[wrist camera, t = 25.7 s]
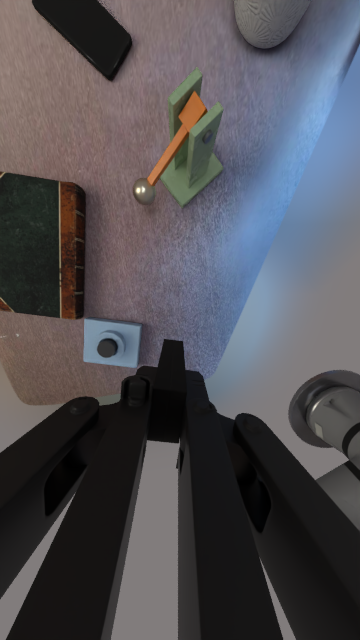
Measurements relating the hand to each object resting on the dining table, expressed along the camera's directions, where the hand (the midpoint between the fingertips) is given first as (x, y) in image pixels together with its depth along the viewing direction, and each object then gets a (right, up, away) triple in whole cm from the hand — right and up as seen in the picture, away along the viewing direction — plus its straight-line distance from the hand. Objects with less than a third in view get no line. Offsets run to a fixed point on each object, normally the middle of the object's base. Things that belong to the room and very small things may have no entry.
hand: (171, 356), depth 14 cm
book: (-28, +17, +23) cm, 40 cm away
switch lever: (-1, +27, +13) cm, 30 cm away
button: (-15, -3, +24) cm, 28 cm away
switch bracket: (+2, +31, +20) cm, 37 cm away
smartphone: (-15, +51, +15) cm, 55 cm away
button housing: (-15, -2, +27) cm, 31 cm away
